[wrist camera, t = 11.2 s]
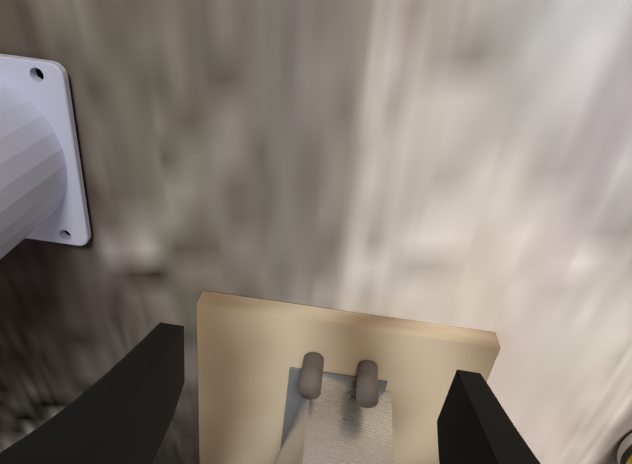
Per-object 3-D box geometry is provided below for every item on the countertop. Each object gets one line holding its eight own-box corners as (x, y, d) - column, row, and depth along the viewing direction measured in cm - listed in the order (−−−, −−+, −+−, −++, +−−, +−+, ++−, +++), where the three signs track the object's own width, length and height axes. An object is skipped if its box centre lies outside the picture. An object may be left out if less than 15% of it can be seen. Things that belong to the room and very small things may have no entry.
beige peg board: (204, 478, 31) (190, 526, 29) (203, 290, 23) (182, 333, 21) (424, 511, 31) (429, 563, 28) (495, 332, 23) (511, 381, 21)
